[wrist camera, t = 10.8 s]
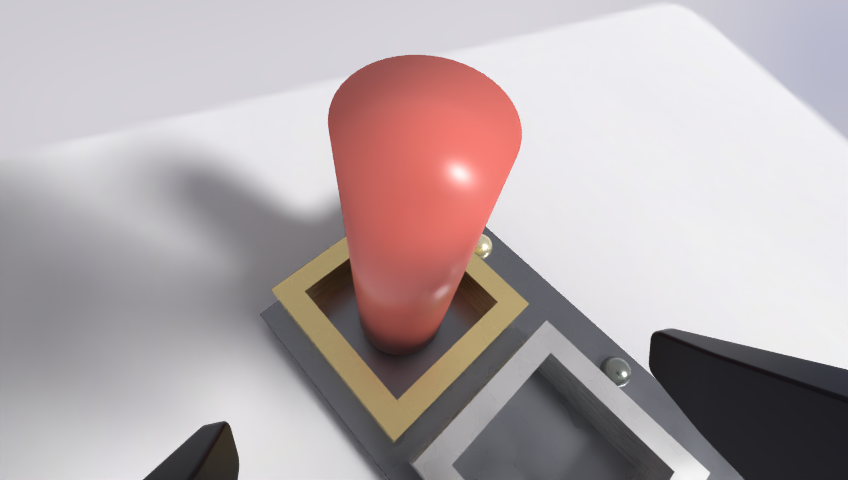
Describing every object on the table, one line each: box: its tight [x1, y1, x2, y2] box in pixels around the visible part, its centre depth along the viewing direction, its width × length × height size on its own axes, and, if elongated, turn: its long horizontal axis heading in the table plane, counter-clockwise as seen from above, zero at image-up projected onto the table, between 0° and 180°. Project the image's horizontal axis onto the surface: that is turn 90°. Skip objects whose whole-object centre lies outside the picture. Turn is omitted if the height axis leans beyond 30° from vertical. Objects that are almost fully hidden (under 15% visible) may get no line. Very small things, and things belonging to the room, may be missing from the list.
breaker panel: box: [260, 227, 744, 480], centre depth 17 cm, size 27×12×4 cm, turn 43°
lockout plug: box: [328, 55, 522, 355], centre depth 14 cm, size 4×4×13 cm
